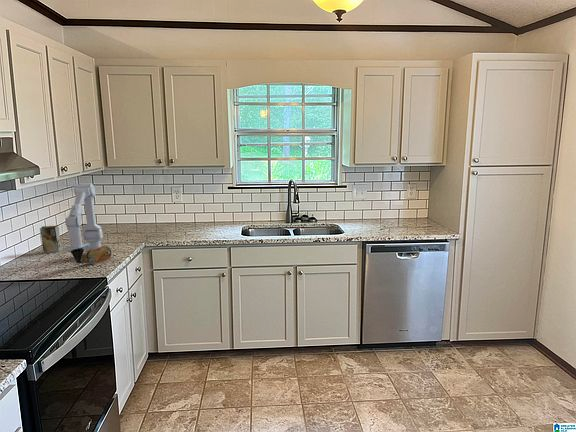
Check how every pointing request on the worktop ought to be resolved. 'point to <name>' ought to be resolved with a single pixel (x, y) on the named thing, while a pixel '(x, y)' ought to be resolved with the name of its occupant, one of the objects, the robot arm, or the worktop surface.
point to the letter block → (84, 257)
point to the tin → (98, 255)
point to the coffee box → (50, 239)
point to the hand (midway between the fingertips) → (78, 262)
